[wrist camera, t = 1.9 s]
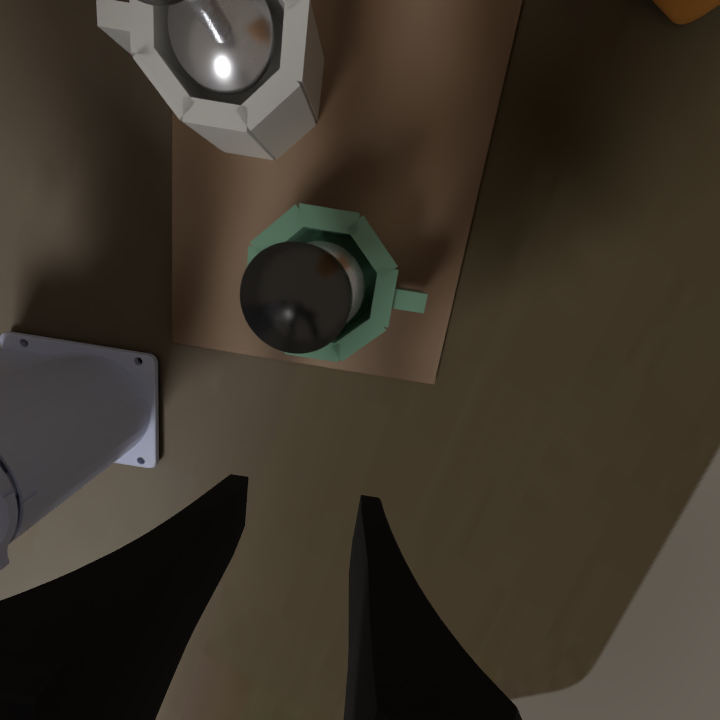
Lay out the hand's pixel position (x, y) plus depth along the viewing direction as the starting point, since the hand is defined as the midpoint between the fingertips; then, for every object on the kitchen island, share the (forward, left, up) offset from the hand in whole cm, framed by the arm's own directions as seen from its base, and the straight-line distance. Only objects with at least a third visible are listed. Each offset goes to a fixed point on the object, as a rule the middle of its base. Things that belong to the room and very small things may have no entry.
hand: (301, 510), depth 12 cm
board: (-2, +11, -10) cm, 16 cm away
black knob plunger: (-1, +7, -7) cm, 10 cm away
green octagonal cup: (-1, +7, -10) cm, 12 cm away
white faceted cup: (-6, +16, -10) cm, 20 cm away
